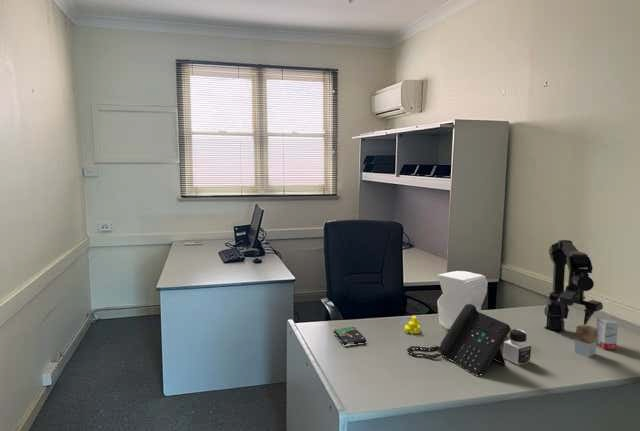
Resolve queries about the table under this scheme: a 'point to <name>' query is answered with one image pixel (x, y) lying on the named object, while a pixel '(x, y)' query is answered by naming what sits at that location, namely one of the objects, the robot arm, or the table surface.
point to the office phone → (472, 341)
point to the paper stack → (459, 294)
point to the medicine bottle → (517, 347)
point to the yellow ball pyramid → (412, 325)
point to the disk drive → (350, 336)
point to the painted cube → (585, 348)
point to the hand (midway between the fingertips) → (573, 320)
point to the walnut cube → (586, 334)
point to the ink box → (606, 332)
